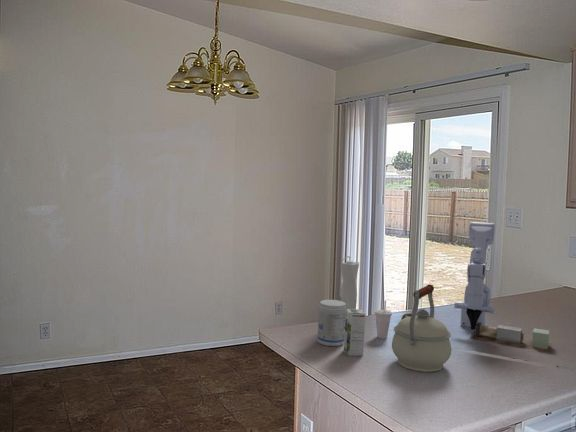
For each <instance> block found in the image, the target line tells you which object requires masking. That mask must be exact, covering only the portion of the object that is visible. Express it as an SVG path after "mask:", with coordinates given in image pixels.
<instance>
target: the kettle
mask: <svg viewBox="0 0 576 432" xmlns="http://www.w3.org/2000/svg"><path fill="white" fill-rule="evenodd" d="M434 291H435V287H434V285H432V284H427V285H426V286H423V287H421V288H419V289H418V290H415V291H414V292H413V297H414V299H413V300H414V301H413V302H414V303H413V306H412V311H411V313H412V314H411V316H409V317H406V318H403V319H402V320H401V319H400V320H399V321H398V323H397V324H396V326H394V327H393V331H394V334H393V337H392V342H391V350H392V352H393V354H394V355H395V357H396V358H397V363H398V365H400V366H401V367H403V368H405V369H407V370H411V371H415V372H422V373H433V372H435V373H436V372H438V371H440V370H442V369H443V368H444V364H446V362H447V361H449V359H450V358H451V355H452V345H451V339H450V338H451V336H452V333H451V332H450V331H449V330H448V328H447V326H446V325H445V324H444V323H443V322H442V321H440V320H438V319H437V318H435V303H434V298H433V292H434ZM426 296H427V297H428V303H429V312H428V311H427V310H425V308H422V309H419V306H420V305H419V304H420V299H421V298H424V297H426ZM418 309H419V310H418ZM416 314H417V315H418V316H416ZM428 316H430V317H428ZM434 318H435V319H434Z"/></svg>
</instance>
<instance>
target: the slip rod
mask: <svg viewBox="0 0 576 432" xmlns="http://www.w3.org/2000/svg"><path fill="white" fill-rule="evenodd" d="M497 327H498V326H497ZM497 327H496V326H490V325H485V326H484V325H481V322H478V323H477V324H476V328H475V331H476V336H480V335H485V336H491V337H497ZM524 335H525V331H523V330H522V331H521V338H520V341H522V342H523V339H524V338H525V337H524Z"/></svg>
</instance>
